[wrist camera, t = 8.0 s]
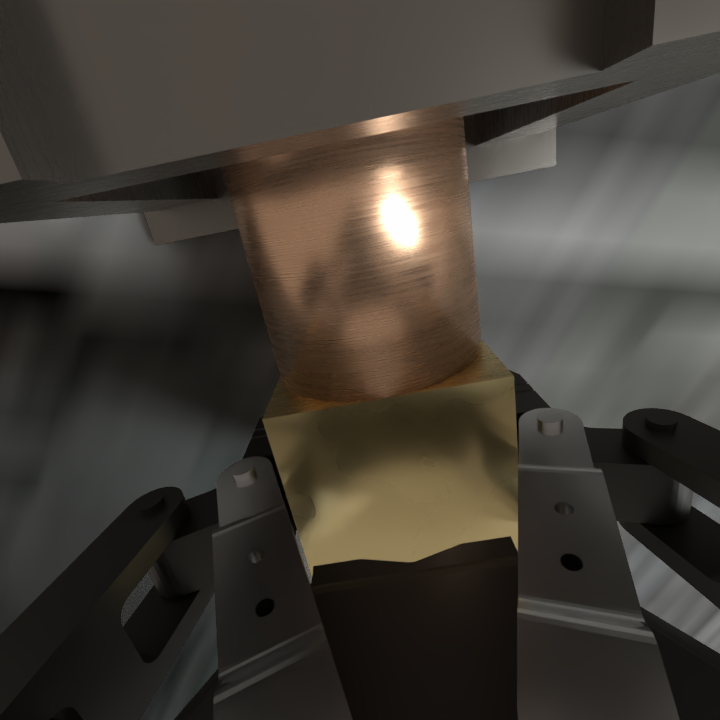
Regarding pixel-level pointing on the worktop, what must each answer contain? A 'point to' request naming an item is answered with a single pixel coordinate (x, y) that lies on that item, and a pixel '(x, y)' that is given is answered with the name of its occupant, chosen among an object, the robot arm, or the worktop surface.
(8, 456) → the worktop surface
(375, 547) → the tube
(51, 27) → the grey open frame
